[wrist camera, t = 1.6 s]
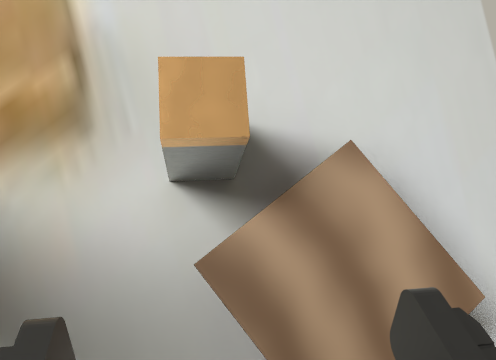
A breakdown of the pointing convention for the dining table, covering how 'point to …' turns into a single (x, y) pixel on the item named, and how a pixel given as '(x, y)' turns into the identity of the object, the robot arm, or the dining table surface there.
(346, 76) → the dining table surface
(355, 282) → the stand
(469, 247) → the dining table surface
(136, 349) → the dining table surface
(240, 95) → the block
